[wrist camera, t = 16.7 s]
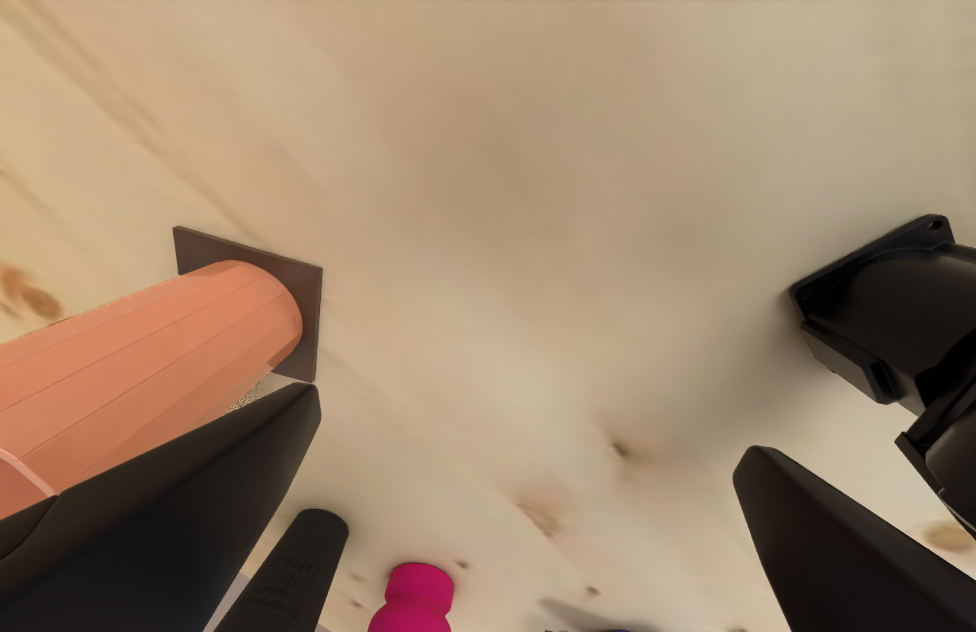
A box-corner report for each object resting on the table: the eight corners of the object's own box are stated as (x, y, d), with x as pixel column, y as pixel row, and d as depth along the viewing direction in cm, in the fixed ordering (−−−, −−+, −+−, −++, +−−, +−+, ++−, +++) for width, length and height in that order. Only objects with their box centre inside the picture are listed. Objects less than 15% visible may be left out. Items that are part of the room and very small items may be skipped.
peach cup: (231, 235, 20) (-158, 358, 8) (325, 322, 22) (111, 516, 10) (174, 303, 22) (-190, 469, 11) (263, 376, 24) (34, 581, 13)
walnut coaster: (178, 225, 20) (171, 227, 20) (322, 268, 20) (319, 270, 20) (193, 346, 24) (187, 349, 23) (314, 380, 24) (311, 383, 24)
